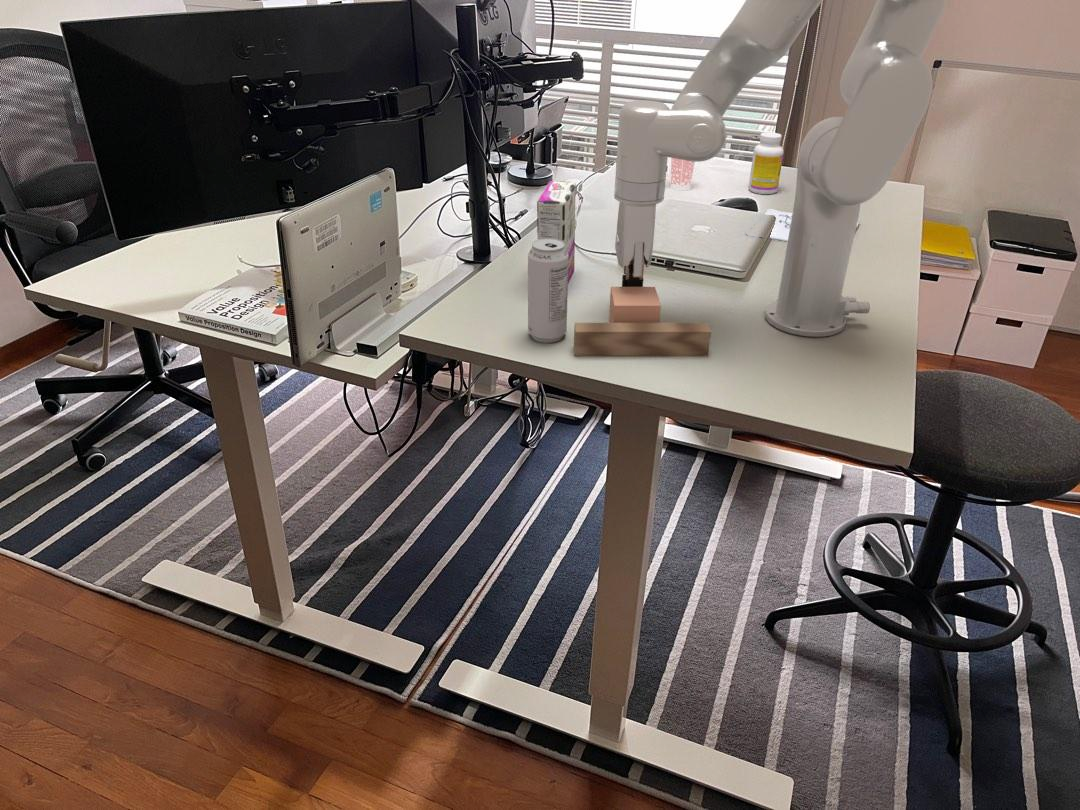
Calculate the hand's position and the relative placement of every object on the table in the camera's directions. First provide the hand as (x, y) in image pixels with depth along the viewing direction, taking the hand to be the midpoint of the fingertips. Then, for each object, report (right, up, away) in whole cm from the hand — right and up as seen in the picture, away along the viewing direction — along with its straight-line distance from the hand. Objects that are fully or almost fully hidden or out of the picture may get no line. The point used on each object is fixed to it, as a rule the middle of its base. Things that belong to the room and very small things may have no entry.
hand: (631, 299), depth 134 cm
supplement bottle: (+37, +33, +59) cm, 77 cm away
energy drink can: (-14, -6, -5) cm, 16 cm away
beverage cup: (+18, +34, +60) cm, 72 cm away
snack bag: (+40, +19, +37) cm, 57 cm away
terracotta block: (0, -5, -4) cm, 6 cm away
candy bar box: (-12, +5, +13) cm, 18 cm away
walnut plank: (0, -9, -9) cm, 13 cm away
